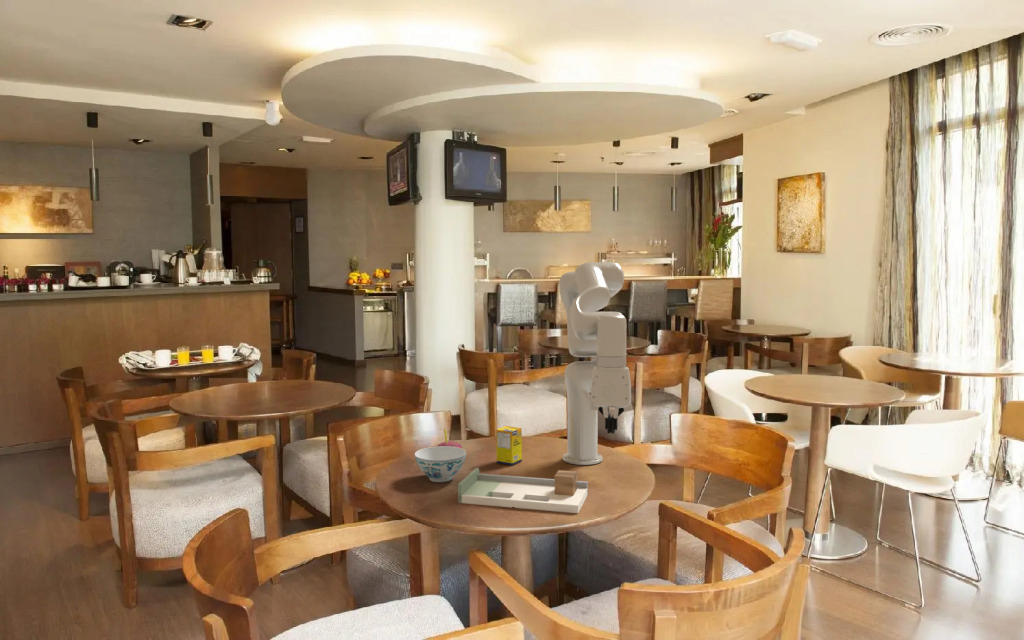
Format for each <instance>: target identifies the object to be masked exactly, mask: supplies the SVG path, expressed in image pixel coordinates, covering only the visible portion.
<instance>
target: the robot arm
mask: <svg viewBox="0 0 1024 640" xmlns="http://www.w3.org/2000/svg"><path fill="white" fill-rule="evenodd" d="M624 282H625V274H624V270H623V269H622V266H621V265H620V264H619V263H616V262H611V261H608V262H603V261H601V262H599V261H598V262H596V261H595V262H593V261H591V262H584V263H582V264H580V265H579V266H577V267H576V269H575V270H574V271H568V272H565V273H563V274H562V275H561V276H560V277H559V282H558V284H559V285H558V286H559V287H558V288H559V296H560V298H561V301H562V304H563V307H564V310H565V314H566V323H567V324H566V328H567V345H568V346H567V347H568V351H569V354H570V355H571V356H573V357H576V358H590V361H589V360H584V361H583V360H582V361H580V360H579V361H573V362H571V363H569V364H567V365H566V367H565V368H564V369H565V370H564V381H565V390H566V396H567V397H566V399H567V401H566V402H567V405H566V407H567V408H566V409H567V452H566V453H564V454H563V455H562V460H563V461H564V462H566V463H568V464H571V465H578V466H588V465H589V466H591V465H596V464H599V463H601V462H603V456H602V454H600V453H598V436H599V435H598V430H599V429H598V427H599V426H598V425H599V424H598V423H599V422H598V414H599V413H600V414H601V415H602V416H603V417H604V419H605V420H604V430H607V434H612V435H614V434H615V433H616V431H617V430H618V418H619V417H620V415H622V414H623V413H627V412H630V411H633V404H632V396H633V395H632V379H631V373H630V368H629V367H628V366H627V326H628V325H627V319H626V317H625V315H623V313H621V312H618V311H599V310H602V309H604V308H605V307H606V306H607V305H608V304H609V303H610V301H611V300H610V299H611V298H612V297H614V296H615V295H616V294H618V293H619V292H620V291H621V290H622V288H623V286H624ZM610 408H614V409H613V413H612V414H611V413H610ZM598 412H599V413H598Z"/></svg>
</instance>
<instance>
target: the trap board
mask: <svg viewBox="0 0 1024 640" xmlns="http://www.w3.org/2000/svg"><path fill="white" fill-rule="evenodd" d="M588 493H589V482H588V481H583V480H577V490H576V492H575V494H574V496H569V495H557V494H555V478H545V477H531V476H530V477H529V476H528V477H527V476H517V475H516V476H515V475H503V474H492V473H491V474H489V473H480V468H478V467H475V468H474V469H473V470H472V471H470V472H469V474H467V475H466V476H465V477H464V478H463V479H462V480H461V481H460V482H459V483H458V484H457V503H458V504H466V505H467V504H468V505H478V506H479V505H481V506H489V507H490V506H492V507H502V508H512V507H515V508H514V509H523V510H535V511H536V510H538V511H547V512H549V511H550V512H557V513H558V512H559V513H568V514H569V513H570V514H579V513H580V511H581V509H582V507H583V505H584V503H585V501H586V499H587V498H588V496H589V495H588Z"/></svg>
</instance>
